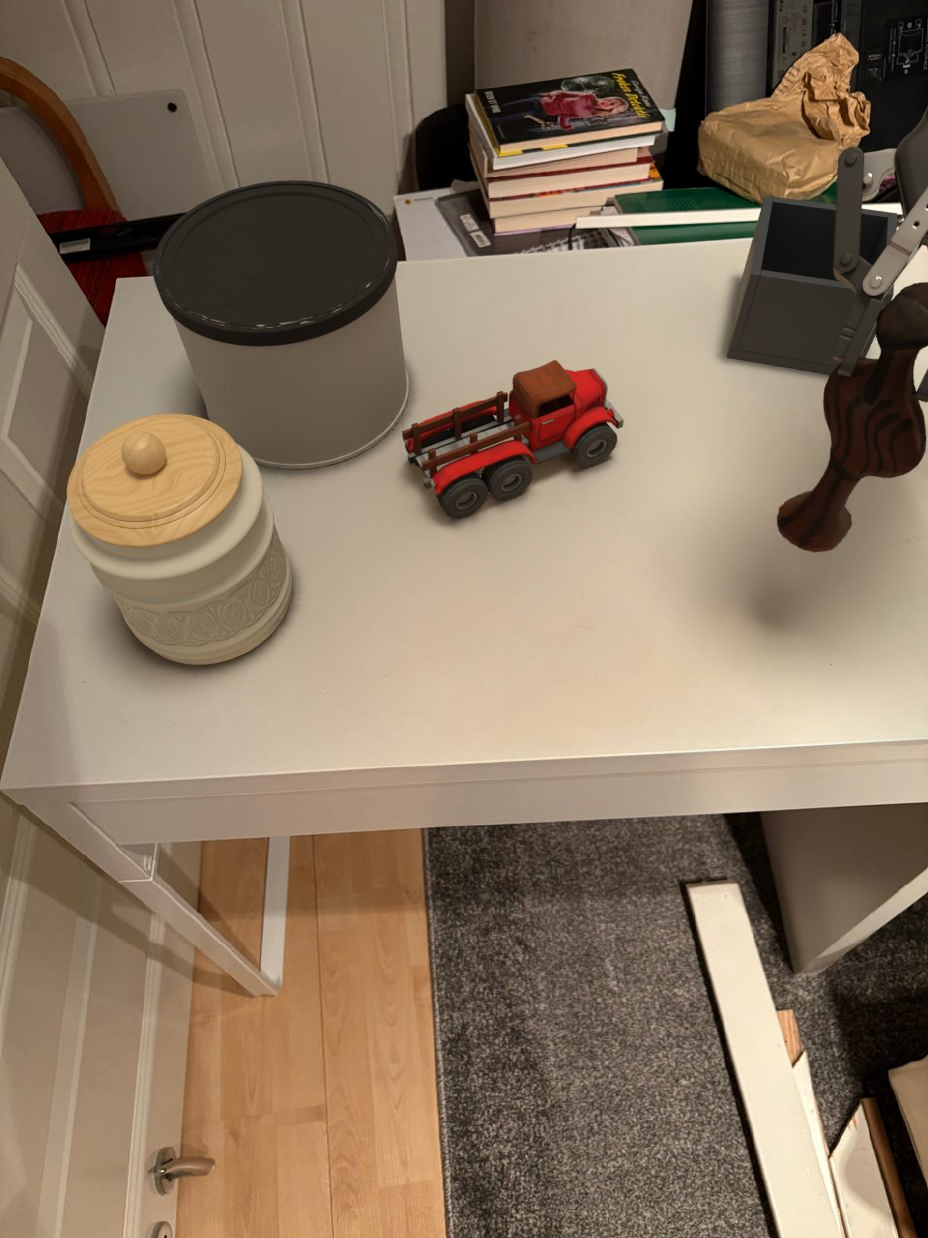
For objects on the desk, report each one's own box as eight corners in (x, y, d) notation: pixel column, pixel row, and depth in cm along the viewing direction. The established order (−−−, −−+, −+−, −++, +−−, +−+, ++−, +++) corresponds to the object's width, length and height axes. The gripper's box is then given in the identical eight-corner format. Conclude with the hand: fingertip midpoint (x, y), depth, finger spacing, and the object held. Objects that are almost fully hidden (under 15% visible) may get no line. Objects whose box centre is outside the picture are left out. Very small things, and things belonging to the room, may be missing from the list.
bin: (861, 297, 86) (897, 212, 78) (855, 378, 80) (893, 295, 73) (741, 279, 88) (764, 194, 80) (726, 357, 82) (750, 273, 75)
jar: (119, 676, 66) (9, 529, 51) (140, 538, 73) (48, 372, 58) (293, 662, 66) (235, 512, 51) (298, 525, 73) (248, 358, 58)
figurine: (886, 550, 57) (1026, 326, 42) (826, 582, 56) (947, 363, 41) (810, 476, 61) (913, 243, 46) (752, 504, 60) (838, 276, 45)
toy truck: (626, 452, 76) (639, 380, 69) (437, 529, 72) (432, 460, 65) (579, 395, 80) (587, 321, 73) (398, 465, 76) (389, 393, 69)
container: (180, 463, 77) (118, 323, 64) (234, 320, 87) (190, 173, 74) (393, 478, 75) (373, 336, 63) (424, 330, 85) (412, 182, 73)
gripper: (906, -46, 40) (746, 333, 45) (1261, 19, 36) (1041, 430, 40) (895, 31, 47) (757, 352, 51) (1191, 93, 42) (1011, 437, 47)
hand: (883, 384), depth 46 cm, fingers closed on figurine, 3 cm apart
